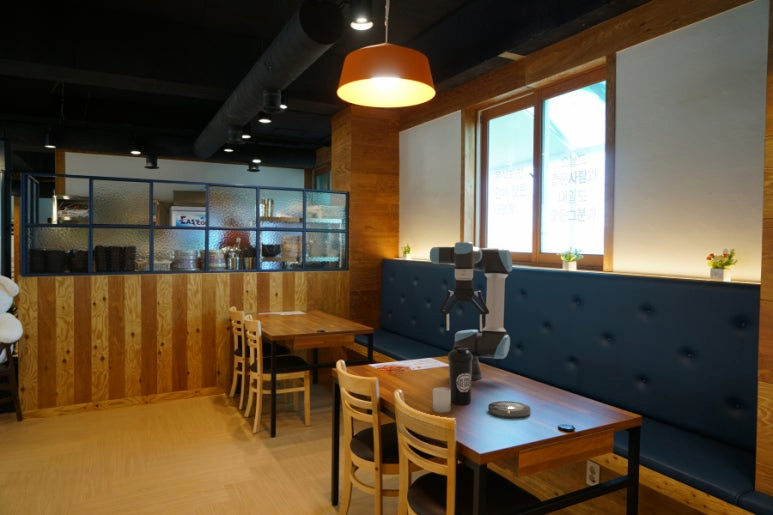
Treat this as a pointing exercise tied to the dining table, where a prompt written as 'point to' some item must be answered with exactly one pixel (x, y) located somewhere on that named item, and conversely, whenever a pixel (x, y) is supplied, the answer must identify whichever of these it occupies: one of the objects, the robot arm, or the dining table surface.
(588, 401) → the dining table surface
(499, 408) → the grey plate
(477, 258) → the robot arm
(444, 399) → the white rounded capsule
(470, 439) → the dining table surface
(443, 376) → the dining table surface
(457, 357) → the water bottle
